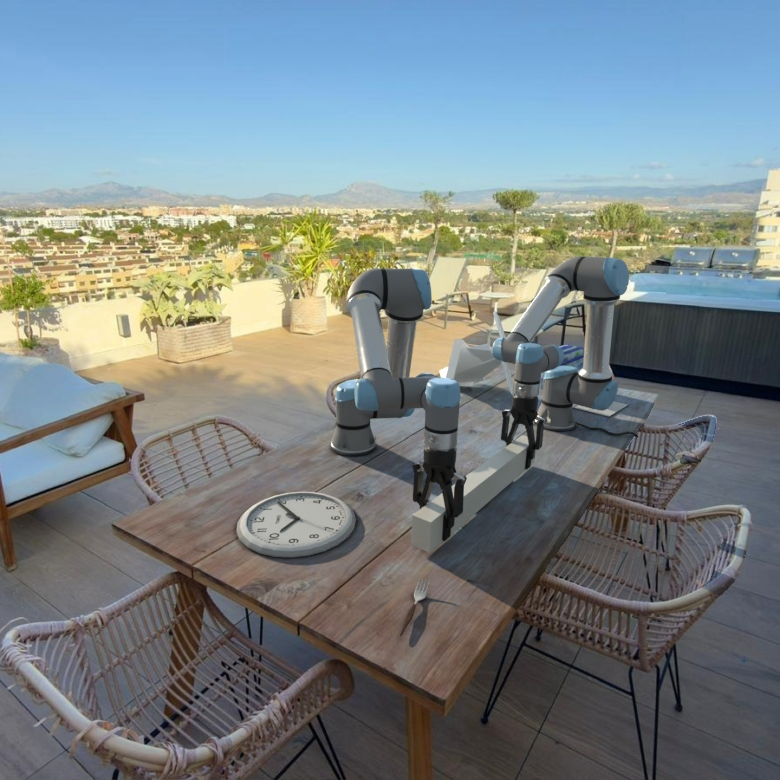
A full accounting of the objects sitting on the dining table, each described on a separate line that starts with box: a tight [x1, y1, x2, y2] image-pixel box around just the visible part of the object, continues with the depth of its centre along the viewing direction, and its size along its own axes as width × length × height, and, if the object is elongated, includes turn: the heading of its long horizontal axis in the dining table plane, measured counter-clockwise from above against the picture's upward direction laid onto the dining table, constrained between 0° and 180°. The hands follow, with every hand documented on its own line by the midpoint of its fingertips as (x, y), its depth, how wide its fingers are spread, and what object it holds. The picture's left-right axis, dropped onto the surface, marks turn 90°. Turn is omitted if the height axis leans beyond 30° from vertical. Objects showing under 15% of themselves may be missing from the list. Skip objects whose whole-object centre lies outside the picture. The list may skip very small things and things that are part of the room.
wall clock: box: [236, 491, 357, 558], centre depth 134 cm, size 30×2×30 cm
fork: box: [399, 577, 431, 637], centre depth 104 cm, size 3×16×2 cm, turn 160°
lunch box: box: [539, 344, 584, 391], centre depth 246 cm, size 26×11×21 cm, turn 135°
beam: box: [410, 434, 537, 554], centre depth 145 cm, size 63×5×8 cm, turn 143°
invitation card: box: [573, 400, 629, 418], centre depth 226 cm, size 21×1×15 cm
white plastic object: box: [438, 310, 516, 396], centre depth 245 cm, size 37×45×31 cm
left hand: (435, 533), depth 127 cm, fingers closed on beam, 5 cm apart
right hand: (518, 465), depth 164 cm, fingers closed on beam, 5 cm apart
